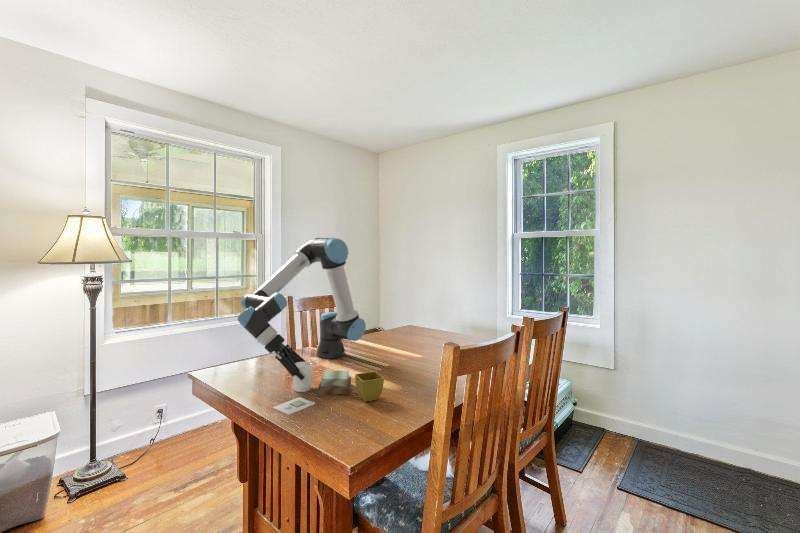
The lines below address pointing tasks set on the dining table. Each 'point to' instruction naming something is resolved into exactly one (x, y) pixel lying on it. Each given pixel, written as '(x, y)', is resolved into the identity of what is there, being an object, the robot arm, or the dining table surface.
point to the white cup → (308, 370)
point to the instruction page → (293, 405)
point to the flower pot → (369, 385)
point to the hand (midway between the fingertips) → (311, 380)
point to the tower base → (334, 389)
